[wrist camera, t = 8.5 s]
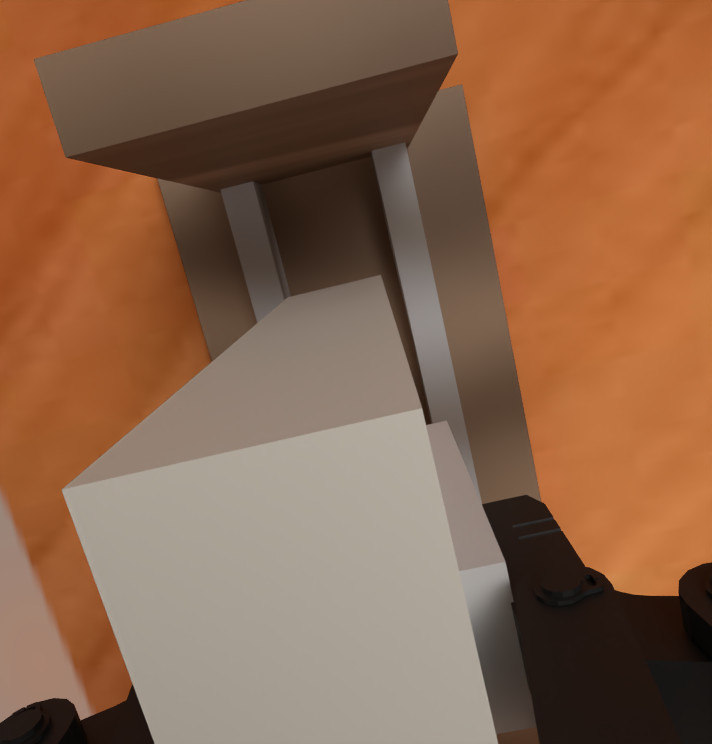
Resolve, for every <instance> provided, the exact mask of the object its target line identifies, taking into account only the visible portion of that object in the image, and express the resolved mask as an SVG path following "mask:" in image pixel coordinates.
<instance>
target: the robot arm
mask: <svg viewBox="0 0 712 744" xmlns="http://www.w3.org/2000/svg"><path fill="white" fill-rule="evenodd" d="M426 427H427V432H428V436H429V441H430V445H431V449H432V454H433V458H434V463H435V467H436V471H437V476H438V480H439V485H440V489H441V494H442V498H443V502H444V507H445V511H446V516H447V520H448V524H449V529H450V533H451V538H452V542H453V546H454V551H455V555H456V560H457V564H458V568H459V573H460V577H461V582H462V586H463V591H464V595H465V599H466V604H467V608H468V613H469V617H470V621H471V626H472V630H473V635H474V639H475V643H476V648H477V652H478V657H479V661H480V665H481V670H482V674H483V679H484V683H485V688H486V692H487V696H488V701H489V705H490V710H491V714H492V718H493V723H494V727H495V732H496V734H501V733H506V732H511V731H517V730H522V729H527V728H533V727H537V732H538V738H539V744H712V563H706V564H702V565H700V566H697V567H695V568H693V569H690V570H688V571H687V572H686V573H685V574H684V575H683V577H682V578H681V579H680V580H679V596H644V595H632V594H628V593H623V592H619V591H616V590H614V588H613V586H612V584H611V583H610V581H609V580H608V579H607V578H606V577H605V575H604V574H602V573H600V572H598V571H596V570H594V569H592V568H589V567H585V565H584V564H583V562H582V561H581V559H580V558H579V556H578V555H577V553H576V552H575V550H574V548H573V547H572V545H571V544H570V542H569V541H568V539H567V538H566V536H565V535H564V533H563V531H561V529H560V527H559V525H558V524H557V522H556V521H555V520H554V518H553V516H552V514H551V513H550V511H549V510H548V508H547V507H546V505H545V504H544V503H542V502H540V501H538V500H536V499H534V498H532V497H530V496H528V495H522V496H518V497H513V498H508V499H504V500H499V501H494V502H490V503H485V504H481V502H480V499H479V497H478V495H477V492H476V490H475V487H474V485H473V482H472V480H471V478H470V475H469V473H468V470H467V468H466V466H465V463H464V461H463V458H462V456H461V454H460V451H459V449H458V446H457V444H456V442H455V439H454V437H453V434H452V432H451V430H450V427H449V425H448V422H447V421H442V422H438V423H433V424H429V425H426ZM0 744H154V741H153V738H152V735H151V733H150V730H149V727H148V724H147V722H146V719H145V716H144V713H143V711H142V708H141V705H140V703H139V700H138V697H137V694H136V692H135V689H134V686H133V684H132V687H131V689H130V692H129V695H128V698H127V700H126V701H124V702H122V703H120V704H118V705H116V706H114V707H111V708H109V709H107V710H104V711H102V712H100V713H97V714H95V715H92V716H90V717H88V718H85V719H83V720H81V721H80V719H79V716H78V713H77V711H76V708H75V706H74V704H72V703H71V702H70V701H69V700H67V699H58V698H57V699H56V698H53V699H48V700H45V701H41V702H36V703H33V704H31V705H28V706H27V707H26V708H25V707H24V708H22V709H20V710H18V711H16V712H14V713H13V714H12V715H11V716H10V717H8V718H7V719H5V720H4V721H3V722H1V723H0Z"/></svg>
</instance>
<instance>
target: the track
mask: <svg viewBox="0 0 712 744" xmlns="http://www.w3.org/2000/svg"><path fill="white" fill-rule="evenodd" d="M457 55H458V51H457V46H456V41H455V35H454V30H453V25H452V19H451V14H450V9H449V3H448V0H246V1H242V2H238V3H235V4H231V5H228V6H224V7H220V8H217V9H213V10H210V11H206V12H202V13H199V14H195V15H192V16H188V17H184V18H181V19H177V20H173V21H170V22H166V23H163V24H159V25H155V26H152V27H148V28H145V29H141V30H137V31H134V32H130V33H127V34H123V35H119V36H116V37H112V38H108V39H105V40H101V41H98V42H94V43H90V44H87V45H83V46H80V47H76V48H72V49H69V50H65V51H61V52H58V53H54V54H51V55H47V56H43V57H40V58H36V59H34V62H35V65H36V68H37V71H38V74H39V77H40V80H41V83H42V86H43V89H44V93H45V96H46V99H47V102H48V105H49V108H50V111H51V114H52V117H53V120H54V123H55V126H56V129H57V132H58V135H59V138H60V141H61V144H62V147H63V151H64V154H65V157H66V158H70V159H75V160H79V161H83V162H88V163H92V164H97V165H101V166H105V167H110V168H114V169H118V170H123V171H127V172H132V173H136V174H140V175H145V176H149V177H154V178H157V179H158V183H159V186H160V189H161V193H162V196H163V200H164V203H165V206H166V210H167V213H168V216H169V220H170V223H171V226H172V230H173V233H174V236H175V240H176V243H177V246H178V250H179V253H180V256H181V260H182V263H183V266H184V270H185V273H186V276H187V280H188V283H189V286H190V290H191V293H192V297H193V300H194V303H195V307H196V310H197V313H198V317H199V320H200V323H201V327H202V330H203V333H204V337H205V340H206V343H207V347H208V350H209V353H210V357H211V360H212V361H213V360H215V359H216V358H217V357H218V356H219V355H221V354H222V353H223V352H224V351H225V350H226V349H228V348H229V347H230V346H231V345H232V344H233V343H235V342H236V341H237V340H238V339H239V338H241V337H242V336H243V335H244V334H245V333H246V332H248V331H249V330H250V329H251V328H252V327H253V326H255V325H256V324H257V323H258V322H259V321H261V320H262V319H263V318H264V317H265V316H266V315H268V314H269V313H270V312H271V311H272V310H273V309H275V308H276V307H277V306H278V305H279V304H280V303H282V302H283V301H284V300H285V299H286V298H288V297H291V296H295V295H299V294H304V293H308V292H312V291H316V290H320V289H324V288H328V287H333V286H337V285H341V284H345V283H349V282H353V281H357V280H361V279H366V278H370V277H374V276H378V275H381V277H382V280H383V284H384V287H385V290H386V293H387V297H388V300H389V303H390V306H391V309H392V313H393V316H394V319H395V322H396V326H397V329H398V332H399V335H400V338H401V342H402V345H403V348H404V351H405V355H406V358H407V361H408V364H409V367H410V371H411V374H412V377H413V380H414V384H415V387H416V390H417V393H418V396H419V400H420V403H421V406H422V410H423V414H424V419H425V423H426V425H429V424H433V423H438V422H442V421H447V422H448V425H449V427H450V430H451V432H452V434H453V437H454V439H455V442H456V444H457V446H458V449H459V451H460V454H461V456H462V458H463V461H464V463H465V466H466V468H467V470H468V473H469V475H470V478H471V480H472V482H473V485H474V487H475V490H476V492H477V495H478V497H479V499H480V502H481V504H485V503H490V502H494V501H499V500H504V499H508V498H513V497H518V496H522V495H528V496H530V497H532V498H534V499H536V500H538V501H540V502H541V498H540V493H539V487H538V482H537V477H536V472H535V466H534V461H533V456H532V450H531V445H530V440H529V435H528V429H527V424H526V419H525V413H524V408H523V403H522V398H521V392H520V387H519V382H518V376H517V371H516V366H515V361H514V355H513V350H512V345H511V340H510V334H509V329H508V324H507V318H506V313H505V308H504V303H503V297H502V292H501V287H500V281H499V276H498V271H497V266H496V260H495V255H494V250H493V244H492V239H491V234H490V229H489V223H488V218H487V213H486V208H485V202H484V197H483V192H482V186H481V181H480V176H479V171H478V165H477V160H476V155H475V149H474V144H473V139H472V134H471V128H470V123H469V118H468V113H467V107H466V102H465V97H464V91H463V86H462V85H458V86H454V87H450V88H446V89H442V90H439V89H440V87H441V85H442V83H443V81H444V79H445V77H446V75H447V74H448V72H449V70H450V68H451V66H452V64H453V62H454V60H455V58H456V57H457ZM496 736H497V740H498V744H539V738H538V732H537V727H533V728H527V729H522V730H517V731H511V732H506V733H501V734H496Z"/></svg>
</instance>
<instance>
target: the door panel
mask: <svg viewBox="0 0 712 744" xmlns="http://www.w3.org/2000/svg"><path fill="white" fill-rule="evenodd" d="M62 492H63V495H64V498H65V501H66V503H67V506H68V509H69V512H70V514H71V517H72V520H73V522H74V525H75V528H76V531H77V533H78V536H79V539H80V542H81V544H82V547H83V550H84V552H85V555H86V558H87V561H88V563H89V566H90V569H91V572H92V574H93V577H94V580H95V582H96V585H97V588H98V591H99V593H100V596H101V599H102V602H103V604H104V607H105V610H106V612H107V615H108V618H109V621H110V623H111V626H112V629H113V632H114V634H115V637H116V640H117V643H118V645H119V648H120V651H121V653H122V656H123V659H124V662H125V664H126V667H127V670H128V673H129V675H130V678H131V681H132V683H133V686H134V689H135V692H136V694H137V697H138V700H139V703H140V705H141V708H142V711H143V713H144V716H145V719H146V722H147V724H148V727H149V730H150V733H151V735H152V738H153V741H154V744H498V740H497V736H496V732H495V727H494V723H493V718H492V714H491V710H490V705H489V701H488V696H487V692H486V688H485V683H484V679H483V674H482V670H481V665H480V661H479V657H478V652H477V648H476V643H475V639H474V635H473V630H472V626H471V621H470V617H469V613H468V608H467V604H466V599H465V595H464V591H463V586H462V582H461V577H460V573H459V568H458V564H457V560H456V555H455V551H454V546H453V542H452V538H451V533H450V529H449V524H448V520H447V516H446V511H445V507H444V502H443V498H442V494H441V489H440V485H439V480H438V476H437V471H436V467H435V463H434V458H433V454H432V449H431V445H430V441H429V436H428V432H427V427H426V423H425V419H424V414H423V410H422V406H421V403H420V400H419V396H418V393H417V390H416V387H415V384H414V380H413V377H412V374H411V371H410V367H409V364H408V361H407V358H406V355H405V351H404V348H403V345H402V342H401V338H400V335H399V332H398V329H397V326H396V322H395V319H394V316H393V313H392V309H391V306H390V303H389V300H388V297H387V293H386V290H385V287H384V284H383V280H382V277H381V275H378V276H374V277H370V278H366V279H361V280H357V281H353V282H349V283H345V284H341V285H337V286H333V287H328V288H324V289H320V290H316V291H312V292H308V293H304V294H299V295H295V296H291V297H288V298H286V299H285V300H284V301H283V302H282V303H280V304H279V305H278V306H277V307H276V308H275V309H273V310H272V311H271V312H270V313H269V314H268V315H266V316H265V317H264V318H263V319H262V320H261V321H259V322H258V323H257V324H256V325H255V326H253V327H252V328H251V329H250V330H249V331H248V332H246V333H245V334H244V335H243V336H242V337H241V338H239V339H238V340H237V341H236V342H235V343H233V344H232V345H231V346H230V347H229V348H228V349H226V350H225V351H224V352H223V353H222V354H221V355H219V356H218V357H217V358H216V359H215V360H213V361H212V362H211V363H210V364H209V365H208V366H206V367H205V368H204V369H203V370H202V371H201V372H199V373H198V374H197V375H196V376H195V377H193V378H192V379H191V380H190V381H189V382H188V383H186V384H185V385H184V386H183V387H182V388H181V389H179V390H178V391H177V392H176V393H175V394H173V395H172V396H171V397H170V398H169V399H168V400H166V401H165V402H164V403H163V404H162V405H161V406H159V407H158V408H157V409H156V410H155V411H153V412H152V413H151V414H150V415H149V416H148V417H146V418H145V419H144V420H143V421H142V422H141V423H139V424H138V425H137V426H136V427H135V428H133V429H132V430H131V431H130V432H129V433H128V434H126V435H125V436H124V437H123V438H122V439H121V440H119V441H118V442H117V443H116V444H115V445H113V446H112V447H111V448H110V449H109V450H108V451H106V452H105V453H104V454H103V455H102V456H101V457H99V458H98V459H97V460H96V461H95V462H93V463H92V464H91V465H90V466H89V467H88V468H86V469H85V470H84V471H83V472H82V473H81V474H79V475H78V476H77V477H76V478H75V479H73V480H72V481H71V482H70V483H69V484H68V485H66V486H65V487H64V488H63V489H62Z"/></svg>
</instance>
